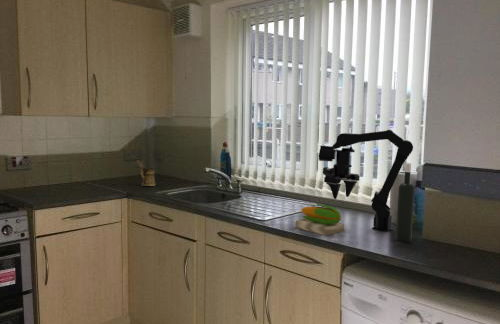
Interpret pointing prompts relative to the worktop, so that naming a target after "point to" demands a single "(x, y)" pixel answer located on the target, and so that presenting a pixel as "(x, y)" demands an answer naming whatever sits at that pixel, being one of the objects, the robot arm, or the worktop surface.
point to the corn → (322, 214)
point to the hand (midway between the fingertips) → (341, 197)
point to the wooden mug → (146, 175)
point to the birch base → (319, 227)
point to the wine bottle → (405, 208)
